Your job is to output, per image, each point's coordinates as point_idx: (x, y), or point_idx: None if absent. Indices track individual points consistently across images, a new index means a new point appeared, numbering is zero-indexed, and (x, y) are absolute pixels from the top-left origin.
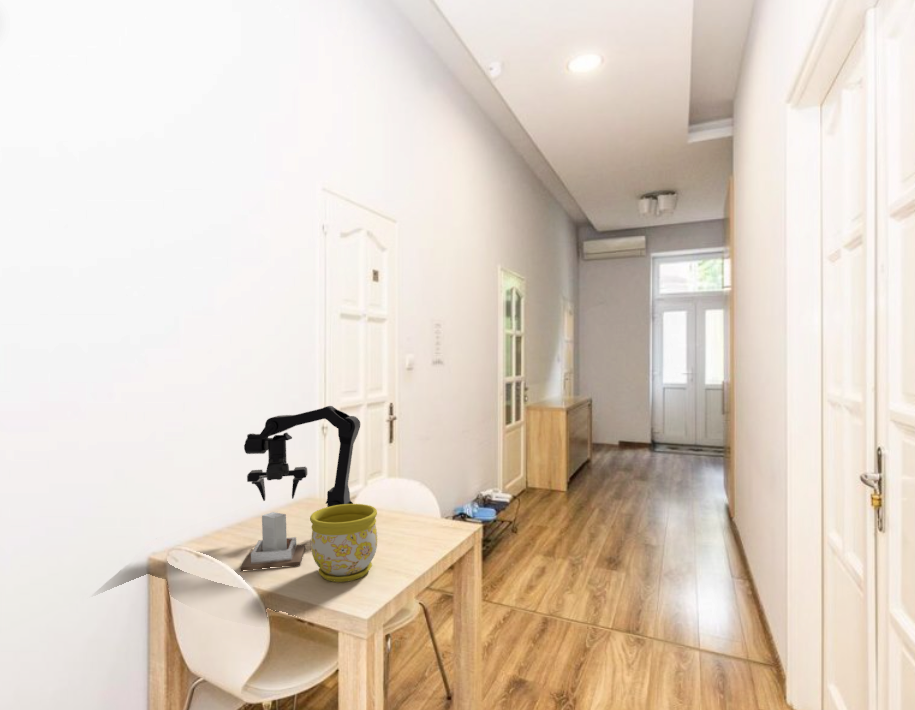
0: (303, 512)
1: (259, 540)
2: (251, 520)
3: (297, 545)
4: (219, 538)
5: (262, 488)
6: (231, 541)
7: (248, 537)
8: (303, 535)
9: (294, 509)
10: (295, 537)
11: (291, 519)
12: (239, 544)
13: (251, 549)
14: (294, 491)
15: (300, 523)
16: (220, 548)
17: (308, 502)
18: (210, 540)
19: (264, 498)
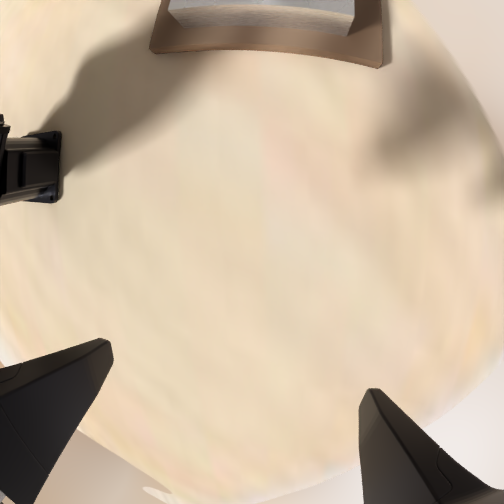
0: (195, 450)
1: (350, 14)
2: (356, 448)
3: (178, 40)
4: (478, 317)
5: (428, 482)
6: (456, 266)
7: (398, 290)
8: (160, 214)
9: (226, 475)
10: (170, 6)
11: (226, 419)
12: (434, 211)
13: (381, 61)
14: (44, 357)
15: (188, 370)
16: (488, 198)
17: (195, 491)
18: (499, 306)
19: (375, 400)
